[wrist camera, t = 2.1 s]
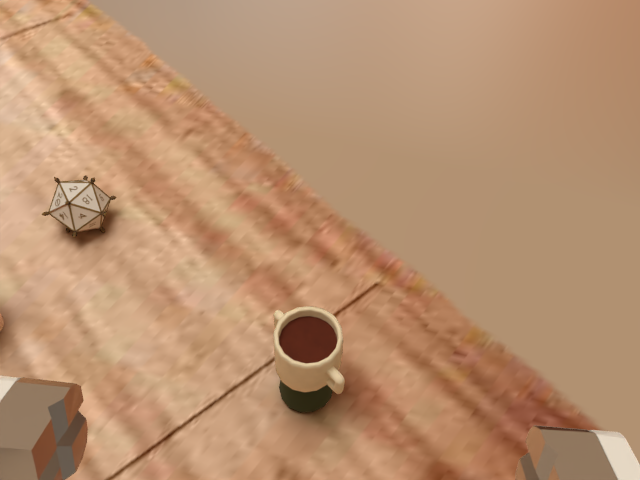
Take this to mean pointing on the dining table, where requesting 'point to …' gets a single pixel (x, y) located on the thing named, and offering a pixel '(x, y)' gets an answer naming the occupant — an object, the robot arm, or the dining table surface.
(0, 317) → the cup with straw
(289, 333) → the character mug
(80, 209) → the game die
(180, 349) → the dining table surface
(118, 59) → the dining table surface
